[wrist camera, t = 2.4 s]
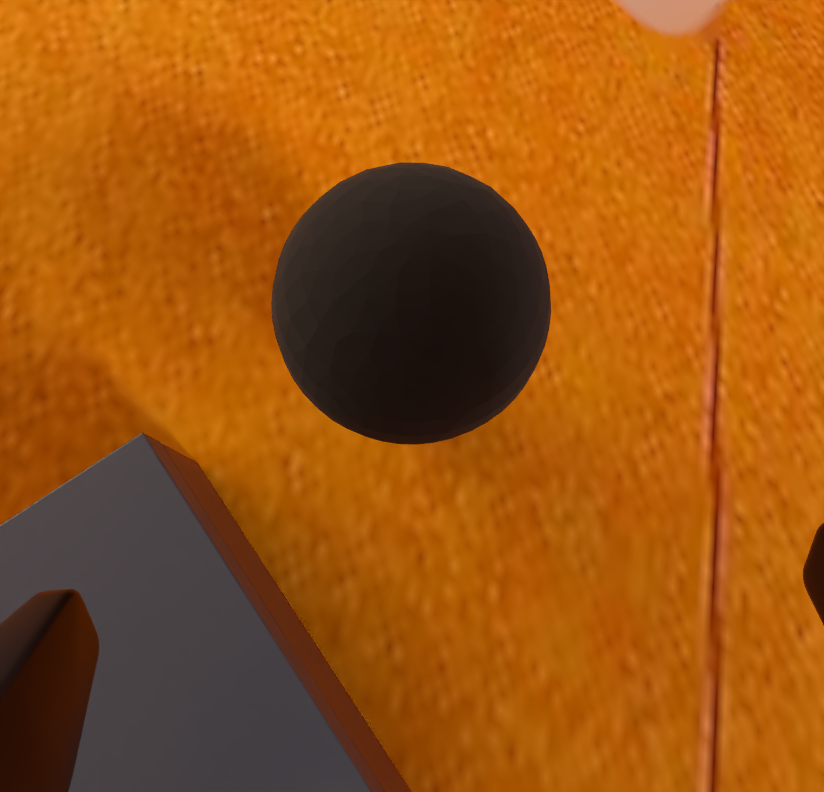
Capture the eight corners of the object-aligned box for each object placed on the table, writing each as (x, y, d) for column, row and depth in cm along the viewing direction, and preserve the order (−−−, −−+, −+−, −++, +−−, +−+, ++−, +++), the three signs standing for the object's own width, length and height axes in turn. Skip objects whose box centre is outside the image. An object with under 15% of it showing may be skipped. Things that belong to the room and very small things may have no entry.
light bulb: (412, 274, 22) (426, 41, 12) (535, 401, 21) (656, 254, 11) (276, 386, 21) (172, 227, 11) (398, 525, 20) (402, 482, 10)
